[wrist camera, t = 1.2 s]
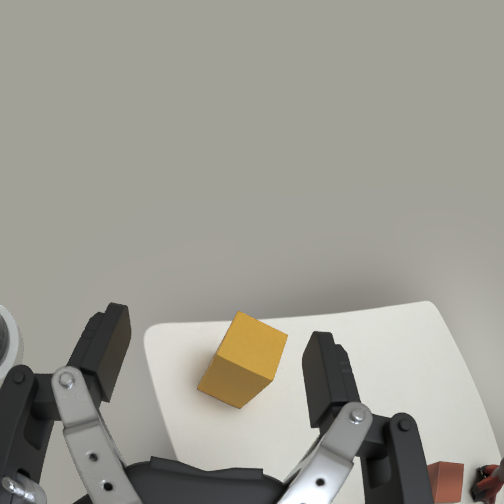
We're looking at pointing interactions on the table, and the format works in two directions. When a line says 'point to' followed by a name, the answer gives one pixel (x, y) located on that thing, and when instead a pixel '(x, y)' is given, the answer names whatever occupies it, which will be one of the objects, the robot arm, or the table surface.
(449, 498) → the three coloured blocks
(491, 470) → the stuffed fox
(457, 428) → the table surface
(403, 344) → the table surface
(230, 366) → the block
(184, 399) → the table surface
